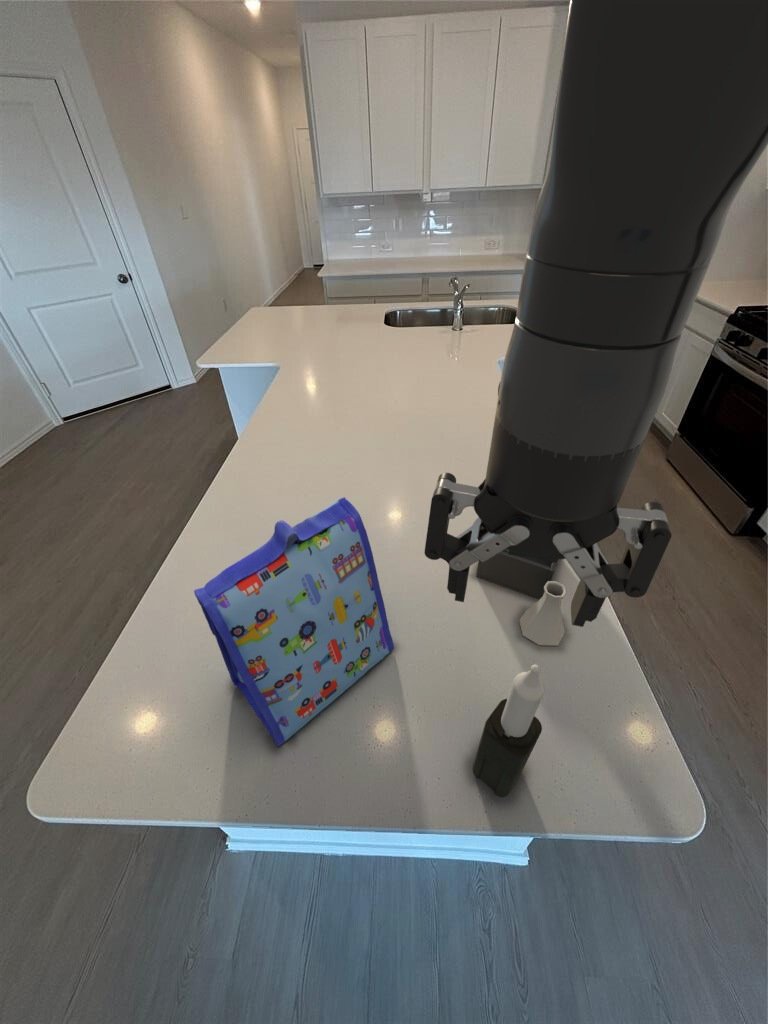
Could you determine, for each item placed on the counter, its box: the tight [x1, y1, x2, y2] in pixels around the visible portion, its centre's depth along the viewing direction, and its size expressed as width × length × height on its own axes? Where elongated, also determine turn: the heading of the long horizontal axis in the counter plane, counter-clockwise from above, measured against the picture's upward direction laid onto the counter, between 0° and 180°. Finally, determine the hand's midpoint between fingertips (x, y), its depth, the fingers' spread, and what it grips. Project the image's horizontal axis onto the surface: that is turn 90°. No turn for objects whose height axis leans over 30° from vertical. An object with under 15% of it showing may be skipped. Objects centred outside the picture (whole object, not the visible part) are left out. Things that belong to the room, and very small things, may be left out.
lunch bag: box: [193, 497, 395, 747], centre depth 59 cm, size 22×14×29 cm, turn 133°
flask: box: [518, 580, 567, 647], centre depth 69 cm, size 7×7×10 cm
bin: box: [475, 549, 558, 600], centre depth 80 cm, size 12×12×8 cm
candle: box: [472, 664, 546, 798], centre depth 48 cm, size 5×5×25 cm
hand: (517, 604), depth 33 cm, fingers open, 8 cm apart
